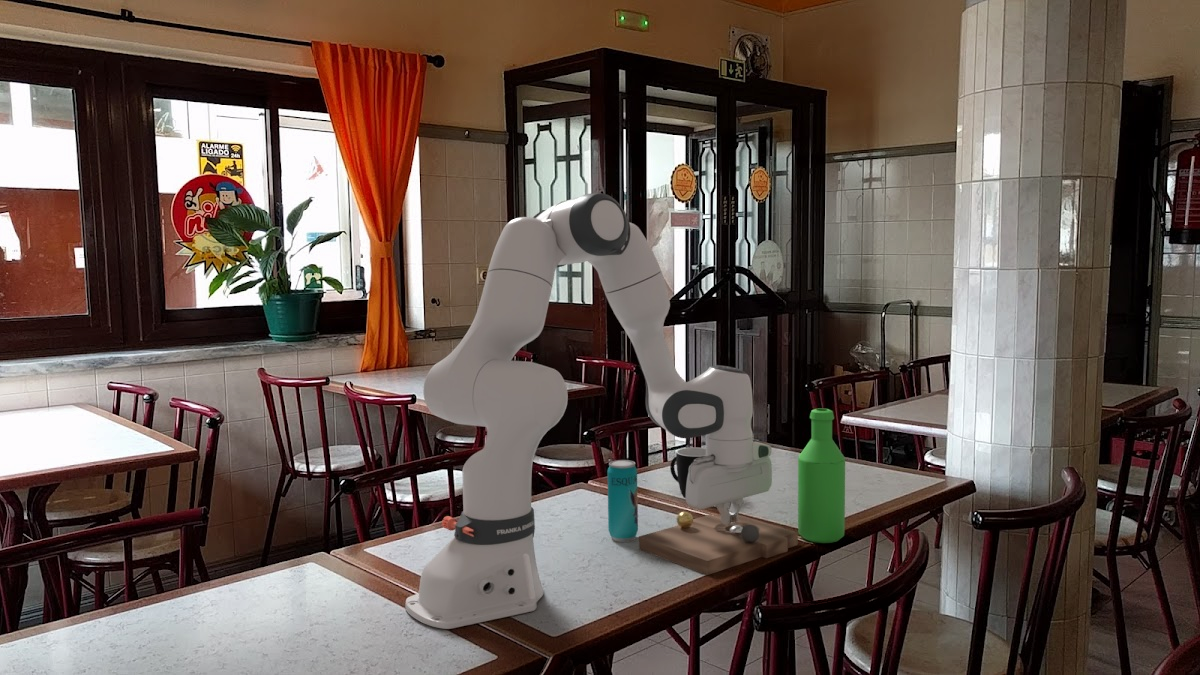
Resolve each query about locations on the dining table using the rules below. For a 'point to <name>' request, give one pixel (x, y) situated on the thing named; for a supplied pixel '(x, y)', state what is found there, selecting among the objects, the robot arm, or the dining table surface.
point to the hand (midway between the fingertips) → (729, 522)
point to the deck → (716, 543)
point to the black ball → (750, 533)
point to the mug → (685, 465)
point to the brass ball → (684, 519)
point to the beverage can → (622, 500)
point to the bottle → (821, 483)
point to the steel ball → (736, 529)
